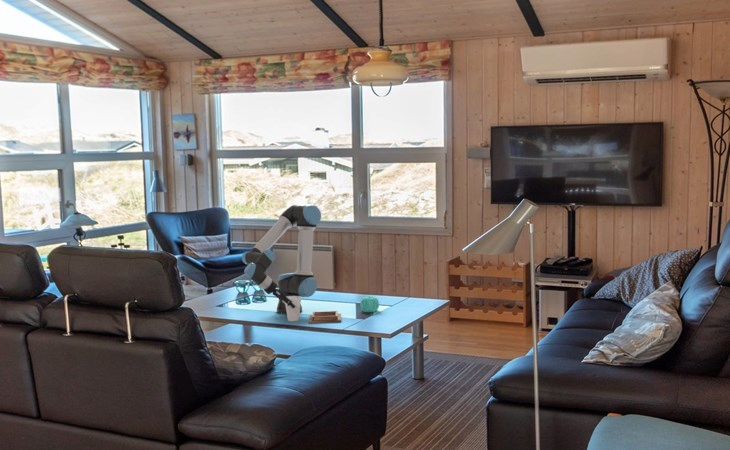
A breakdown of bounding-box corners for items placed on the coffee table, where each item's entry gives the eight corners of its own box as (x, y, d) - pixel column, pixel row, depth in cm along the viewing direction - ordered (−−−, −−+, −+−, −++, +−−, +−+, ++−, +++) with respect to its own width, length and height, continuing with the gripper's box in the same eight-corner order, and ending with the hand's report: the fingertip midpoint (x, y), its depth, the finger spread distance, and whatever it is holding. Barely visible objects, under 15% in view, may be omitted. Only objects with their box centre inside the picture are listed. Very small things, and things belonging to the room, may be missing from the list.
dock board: (309, 316, 431) (309, 311, 431) (341, 315, 432) (340, 310, 432) (308, 323, 413) (308, 317, 413) (341, 322, 414) (340, 316, 414)
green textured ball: (379, 310, 443) (379, 297, 442) (370, 312, 437) (370, 299, 436) (369, 309, 448) (368, 296, 447) (360, 311, 442) (359, 298, 441)
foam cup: (289, 318, 430) (288, 295, 429) (304, 318, 427) (303, 296, 426) (282, 321, 421) (281, 298, 420) (297, 322, 418) (296, 299, 417)
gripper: (258, 286, 428) (284, 310, 435) (268, 293, 405) (296, 317, 411) (266, 276, 429) (293, 300, 436) (278, 282, 406) (305, 307, 413)
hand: (294, 308), depth 424 cm, fingers open, 13 cm apart
